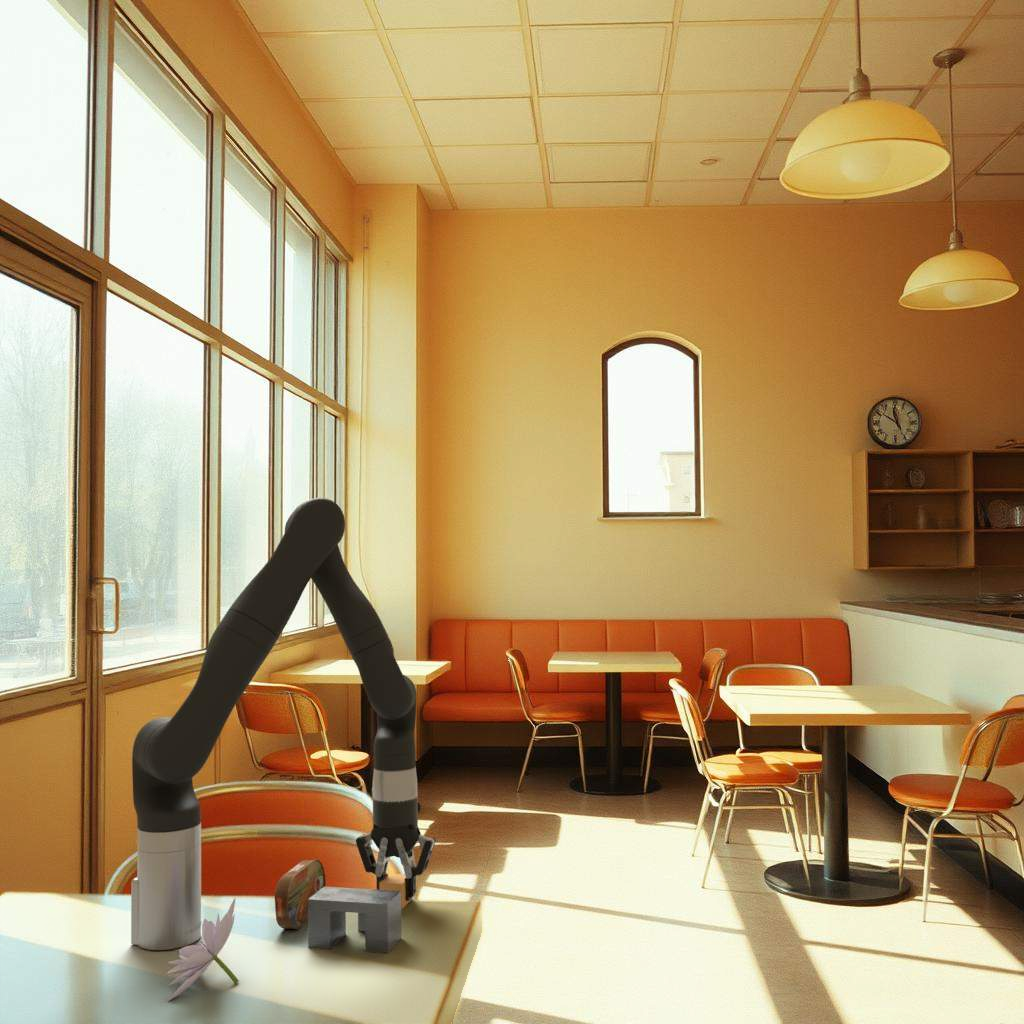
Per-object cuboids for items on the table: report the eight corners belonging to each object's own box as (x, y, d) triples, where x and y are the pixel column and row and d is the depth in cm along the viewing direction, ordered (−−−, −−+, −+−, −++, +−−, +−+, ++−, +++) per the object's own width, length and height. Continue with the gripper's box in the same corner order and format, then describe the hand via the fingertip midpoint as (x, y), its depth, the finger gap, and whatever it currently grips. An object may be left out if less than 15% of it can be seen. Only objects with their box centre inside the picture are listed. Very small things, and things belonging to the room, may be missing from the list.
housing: (308, 947, 149) (307, 899, 149) (324, 932, 155) (324, 886, 155) (388, 953, 146) (387, 904, 146) (401, 938, 152) (401, 891, 152)
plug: (355, 930, 155) (354, 904, 156) (389, 897, 171) (389, 873, 171) (379, 932, 154) (379, 905, 155) (412, 898, 170) (412, 874, 170)
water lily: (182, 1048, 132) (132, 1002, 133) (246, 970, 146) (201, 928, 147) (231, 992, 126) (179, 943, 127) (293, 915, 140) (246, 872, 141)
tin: (290, 937, 153) (289, 881, 154) (271, 936, 154) (270, 880, 154) (327, 904, 168) (327, 853, 168) (309, 903, 169) (309, 852, 169)
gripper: (442, 791, 171) (443, 893, 170) (363, 788, 174) (364, 889, 173) (428, 801, 164) (430, 908, 163) (347, 798, 167) (347, 903, 166)
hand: (396, 898), depth 168 cm, fingers closed on plug, 3 cm apart
